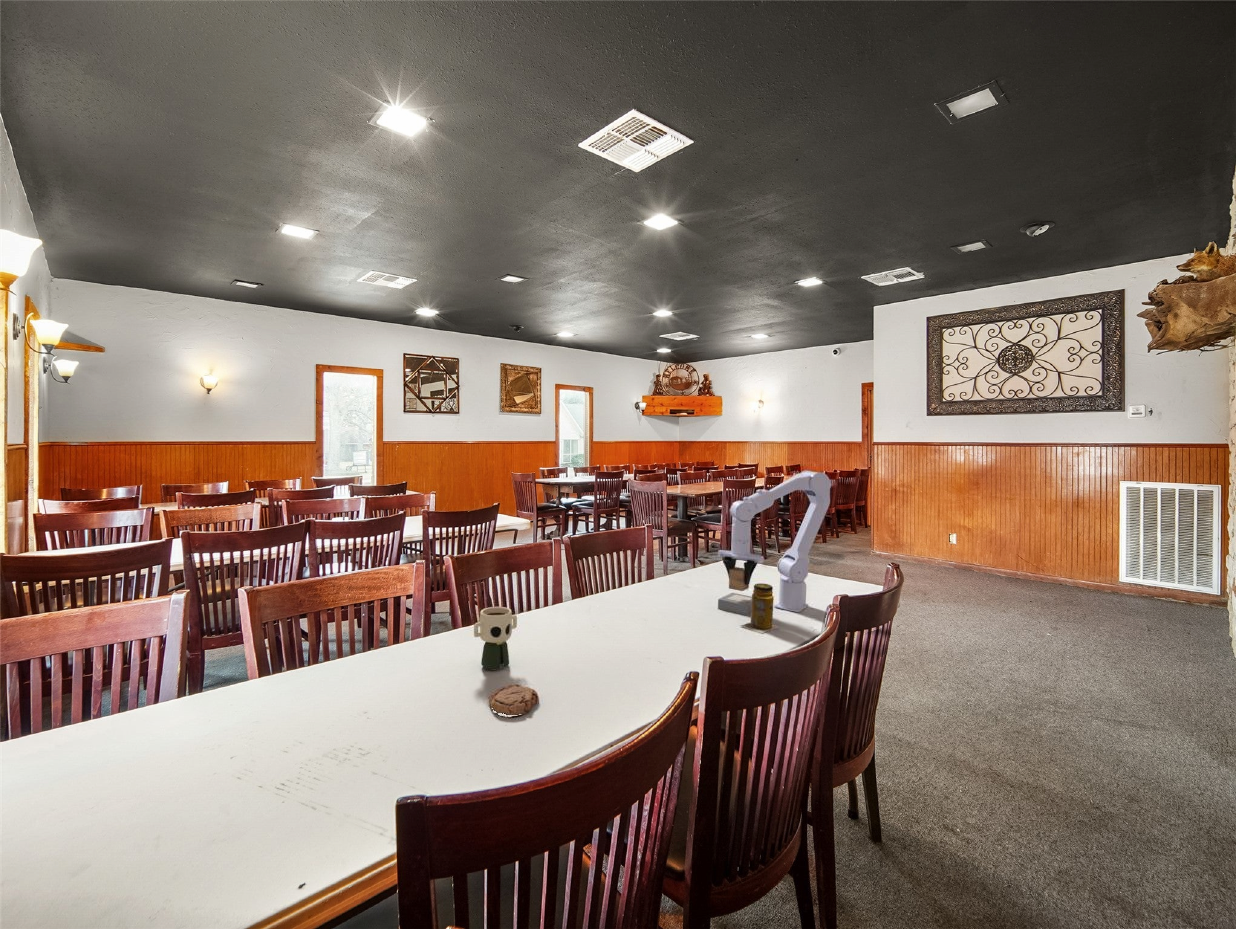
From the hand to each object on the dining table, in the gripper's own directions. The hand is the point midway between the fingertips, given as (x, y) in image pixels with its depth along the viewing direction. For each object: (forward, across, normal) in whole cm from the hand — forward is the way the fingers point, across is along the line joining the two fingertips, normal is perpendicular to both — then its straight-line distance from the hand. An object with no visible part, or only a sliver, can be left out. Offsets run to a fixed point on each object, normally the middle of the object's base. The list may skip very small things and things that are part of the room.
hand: (739, 582), depth 184 cm
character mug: (+8, -23, -79) cm, 83 cm away
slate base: (+8, 0, +1) cm, 8 cm away
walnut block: (+2, 0, 0) cm, 2 cm away
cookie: (+8, -6, -89) cm, 90 cm away
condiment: (+9, +12, -12) cm, 19 cm away
